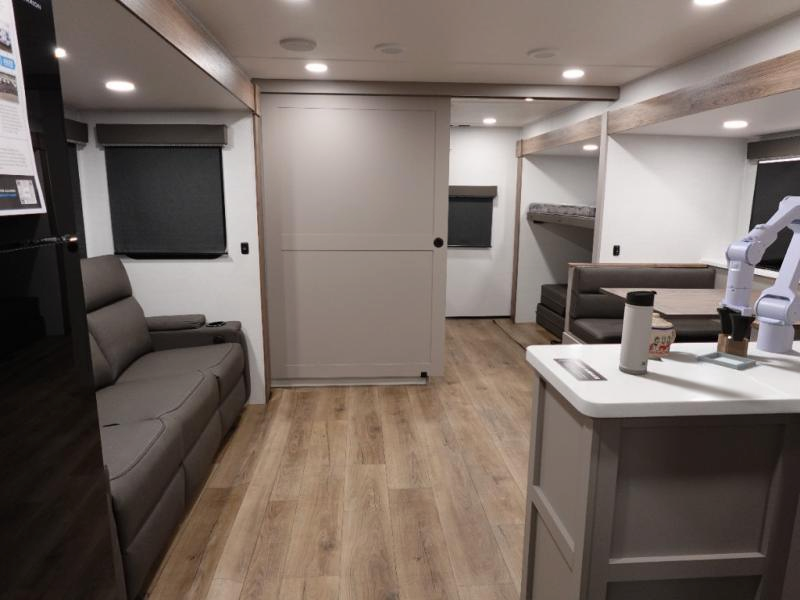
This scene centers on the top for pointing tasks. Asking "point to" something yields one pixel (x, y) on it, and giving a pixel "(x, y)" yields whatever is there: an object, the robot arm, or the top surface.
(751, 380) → the top surface
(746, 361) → the tray
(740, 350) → the brown wooden cube
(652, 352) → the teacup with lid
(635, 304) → the travel mug
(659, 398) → the top surface
